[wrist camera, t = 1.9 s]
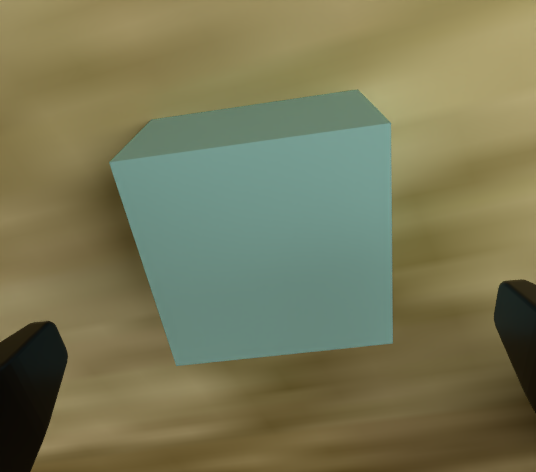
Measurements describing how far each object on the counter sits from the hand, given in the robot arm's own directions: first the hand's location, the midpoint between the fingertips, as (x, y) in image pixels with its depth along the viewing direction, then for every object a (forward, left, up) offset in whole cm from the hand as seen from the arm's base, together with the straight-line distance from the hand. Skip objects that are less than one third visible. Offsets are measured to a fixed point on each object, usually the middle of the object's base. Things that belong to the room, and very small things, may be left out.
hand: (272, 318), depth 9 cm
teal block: (0, 0, -6) cm, 6 cm away
